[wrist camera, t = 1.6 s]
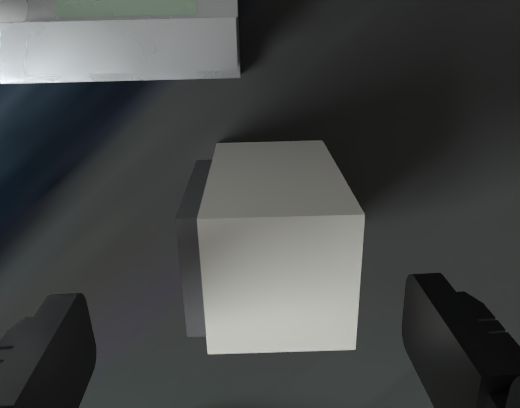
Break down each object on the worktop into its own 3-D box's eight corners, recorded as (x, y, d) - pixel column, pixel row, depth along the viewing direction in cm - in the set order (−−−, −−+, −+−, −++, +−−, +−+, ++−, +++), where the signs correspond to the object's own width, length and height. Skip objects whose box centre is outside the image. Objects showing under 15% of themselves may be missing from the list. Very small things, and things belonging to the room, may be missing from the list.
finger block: (322, 140, 17) (364, 214, 11) (319, 235, 19) (355, 349, 13) (200, 143, 17) (171, 220, 11) (207, 238, 19) (185, 354, 12)
